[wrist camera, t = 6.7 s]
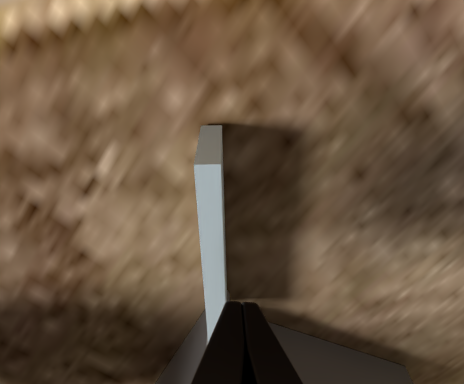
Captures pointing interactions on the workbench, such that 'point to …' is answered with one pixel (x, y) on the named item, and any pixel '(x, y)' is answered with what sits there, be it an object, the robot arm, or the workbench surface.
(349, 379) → the camera block
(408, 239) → the workbench surface
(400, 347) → the workbench surface
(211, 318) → the side door
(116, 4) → the workbench surface
